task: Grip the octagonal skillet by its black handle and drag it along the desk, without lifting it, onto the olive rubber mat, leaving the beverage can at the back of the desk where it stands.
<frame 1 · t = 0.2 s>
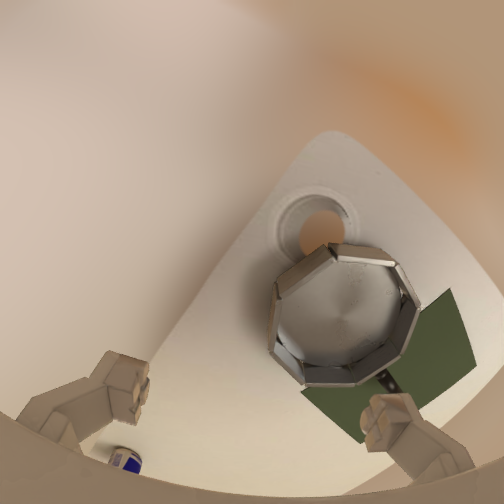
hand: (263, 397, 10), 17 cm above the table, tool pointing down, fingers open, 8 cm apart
octagonal skillet: (337, 307, 28), on the table
mat: (402, 381, 31), on the table
beverage can: (128, 453, 37), on the table
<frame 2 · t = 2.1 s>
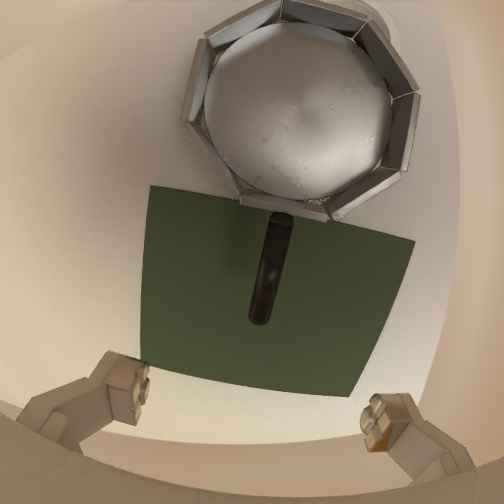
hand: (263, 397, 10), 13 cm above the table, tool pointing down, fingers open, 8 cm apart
octagonal skillet: (298, 109, 18), on the table
mat: (267, 313, 23), on the table
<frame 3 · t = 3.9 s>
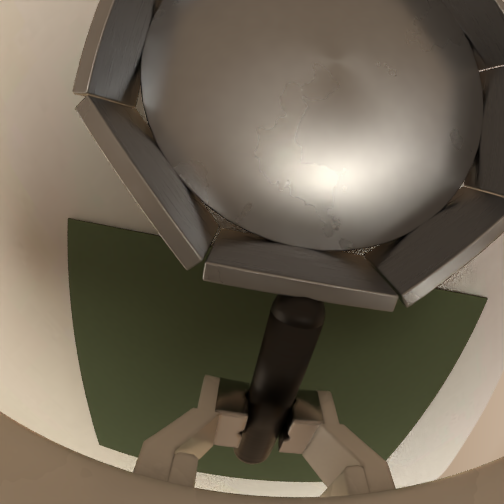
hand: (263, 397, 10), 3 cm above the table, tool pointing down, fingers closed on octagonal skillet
octagonal skillet: (324, 74, 9), on the table, touching gripper
mat: (264, 408, 14), on the table
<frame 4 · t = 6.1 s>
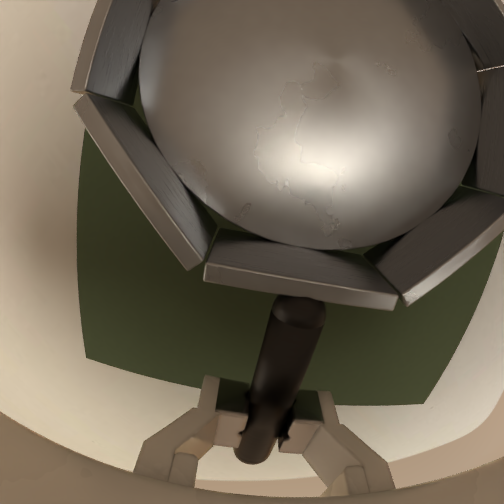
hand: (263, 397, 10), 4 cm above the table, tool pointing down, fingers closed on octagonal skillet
octagonal skillet: (323, 73, 9), point 1 cm above the table, touching gripper
mat: (310, 254, 12), on the table
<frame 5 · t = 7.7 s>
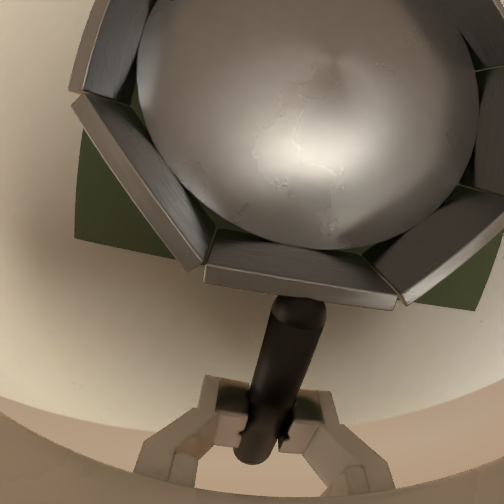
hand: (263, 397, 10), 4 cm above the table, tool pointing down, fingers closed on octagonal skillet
octagonal skillet: (321, 73, 9), point 1 cm above the table, touching gripper
mat: (346, 86, 10), on the table
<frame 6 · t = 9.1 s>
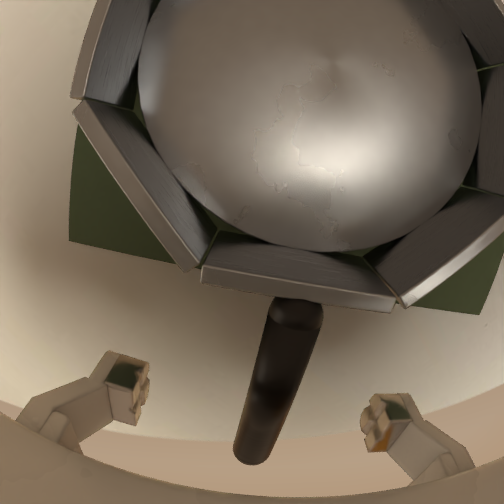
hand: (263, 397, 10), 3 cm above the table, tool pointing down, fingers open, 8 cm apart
octagonal skillet: (321, 75, 9), on the table, touching mat
mat: (350, 83, 9), on the table
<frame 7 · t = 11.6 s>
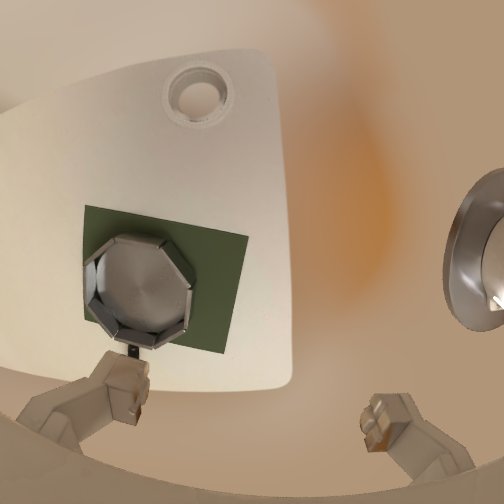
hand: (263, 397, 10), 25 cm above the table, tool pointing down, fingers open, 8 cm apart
octagonal skillet: (144, 282, 35), on the table, touching mat
mat: (153, 283, 35), on the table
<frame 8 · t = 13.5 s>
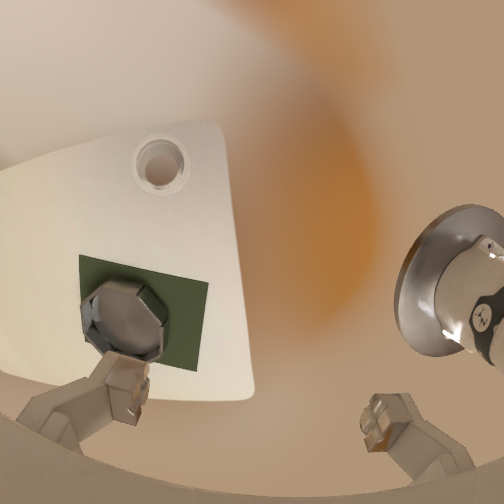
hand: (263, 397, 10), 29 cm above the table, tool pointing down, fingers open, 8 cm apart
octagonal skillet: (130, 316, 42), on the table, touching mat
mat: (137, 317, 42), on the table
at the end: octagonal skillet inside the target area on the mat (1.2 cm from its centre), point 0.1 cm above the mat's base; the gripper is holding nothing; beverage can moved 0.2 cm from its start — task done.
